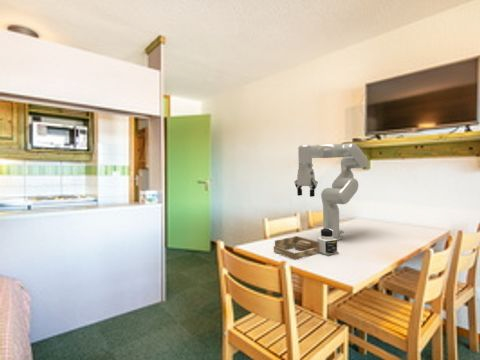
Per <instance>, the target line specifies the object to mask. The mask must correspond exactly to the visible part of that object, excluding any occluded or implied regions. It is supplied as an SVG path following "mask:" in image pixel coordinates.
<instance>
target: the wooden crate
mask: <svg viewBox="0 0 480 360" xmlns="http://www.w3.org/2000/svg"><path fill="white" fill-rule="evenodd" d="M300 240H303V241H306V242H309V243H311V248H312V249H308V250H304V251H298V252H294V251H290V249H291V250H292V249H294V248H295V246H296V243H298V241H300ZM273 253H275V254H279V255H280V254H281V256H283V255H284V257H286V258H288V257H289V258H288V259H291V260H294V261H296V259H297V260H300V259H303V257H304V258H306V257H310V256H315V255H319V242H318V241H317V240H314V239H309V238H305V237H303V236H298V235H295V236H290V237H289V236H288V237H284V238H280V239H276V240H274V245H273Z"/></svg>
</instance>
